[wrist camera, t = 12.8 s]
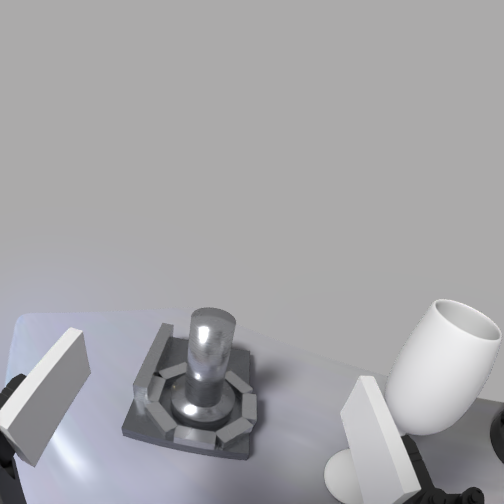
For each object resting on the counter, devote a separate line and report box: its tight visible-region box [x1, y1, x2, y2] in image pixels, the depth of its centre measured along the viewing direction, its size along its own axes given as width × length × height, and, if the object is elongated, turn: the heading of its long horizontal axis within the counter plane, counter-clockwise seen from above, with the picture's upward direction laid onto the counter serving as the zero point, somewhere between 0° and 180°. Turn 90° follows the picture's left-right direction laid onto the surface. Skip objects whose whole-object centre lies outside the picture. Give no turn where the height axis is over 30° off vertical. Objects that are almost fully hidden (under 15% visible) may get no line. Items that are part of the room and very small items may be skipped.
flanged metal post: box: [170, 308, 236, 429], centre depth 27 cm, size 7×7×12 cm
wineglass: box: [324, 299, 502, 504], centre depth 19 cm, size 9×9×21 cm
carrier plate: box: [122, 323, 257, 460], centre depth 31 cm, size 14×18×6 cm
